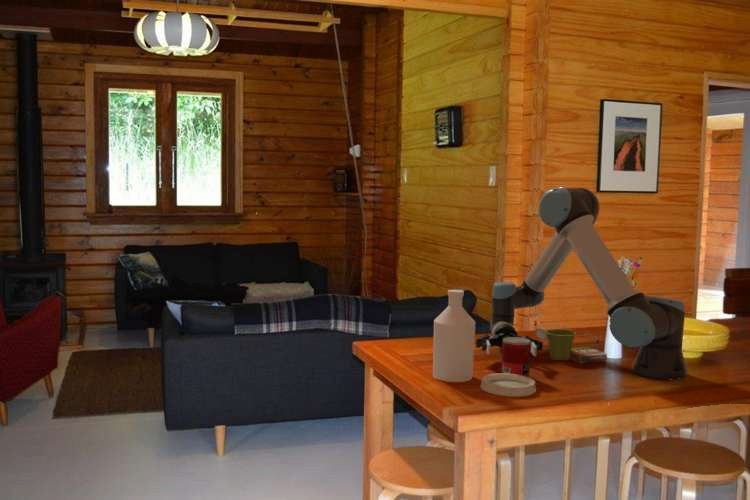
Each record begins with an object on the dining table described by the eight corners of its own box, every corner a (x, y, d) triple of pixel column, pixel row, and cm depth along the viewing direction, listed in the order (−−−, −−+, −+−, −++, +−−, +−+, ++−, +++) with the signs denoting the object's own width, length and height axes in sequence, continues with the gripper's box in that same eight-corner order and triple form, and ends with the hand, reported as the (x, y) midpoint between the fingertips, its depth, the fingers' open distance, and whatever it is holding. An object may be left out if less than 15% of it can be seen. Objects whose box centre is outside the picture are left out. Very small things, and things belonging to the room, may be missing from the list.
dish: (539, 384, 218) (539, 376, 217) (532, 399, 203) (532, 390, 203) (485, 378, 222) (486, 370, 222) (475, 392, 208) (476, 384, 208)
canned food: (529, 381, 221) (530, 343, 219) (500, 379, 222) (502, 341, 221) (529, 374, 228) (531, 338, 227) (501, 372, 230) (503, 336, 228)
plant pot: (561, 363, 242) (562, 336, 241) (538, 357, 249) (539, 330, 249) (580, 360, 247) (582, 333, 247) (557, 353, 255) (559, 327, 254)
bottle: (477, 374, 227) (481, 289, 224) (466, 384, 216) (470, 295, 213) (438, 369, 232) (442, 286, 229) (426, 378, 221) (429, 292, 218)
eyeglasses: (533, 337, 281) (534, 326, 281) (571, 333, 290) (572, 323, 289) (562, 346, 268) (563, 335, 267) (601, 342, 276) (602, 331, 276)
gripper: (543, 348, 251) (554, 364, 230) (465, 345, 252) (469, 361, 231) (544, 325, 250) (555, 340, 229) (466, 322, 251) (470, 336, 230)
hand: (512, 350), depth 230 cm, fingers open, 13 cm apart
